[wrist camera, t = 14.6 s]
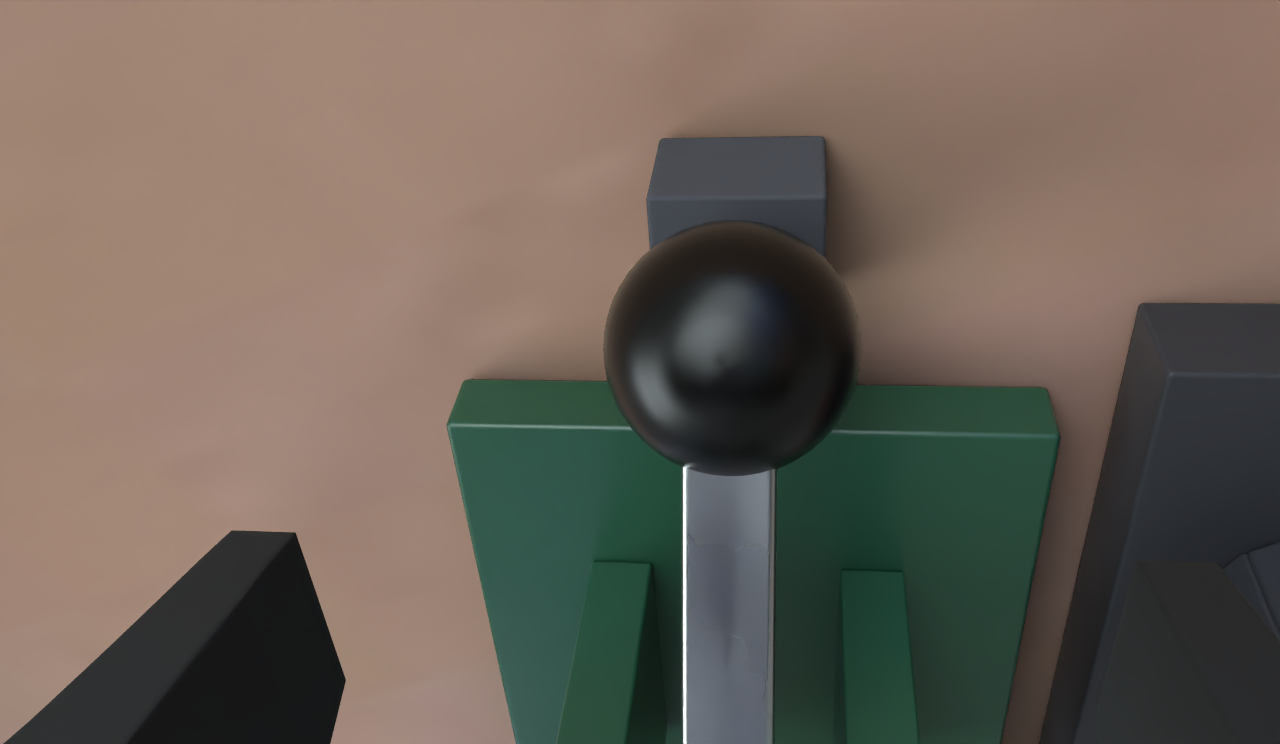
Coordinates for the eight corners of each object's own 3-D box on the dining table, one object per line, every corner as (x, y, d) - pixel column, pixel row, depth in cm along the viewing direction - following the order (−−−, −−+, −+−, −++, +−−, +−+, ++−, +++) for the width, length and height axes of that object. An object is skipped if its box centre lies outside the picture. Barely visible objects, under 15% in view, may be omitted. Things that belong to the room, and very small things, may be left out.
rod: (623, 218, 15) (579, 222, 12) (857, 217, 15) (873, 221, 12) (629, 1047, 17) (593, 1228, 14) (839, 1066, 16) (849, 1256, 13)
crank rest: (820, 288, 17) (821, 357, 15) (669, 287, 17) (657, 355, 16) (825, 134, 15) (827, 196, 14) (659, 136, 15) (645, 197, 14)
